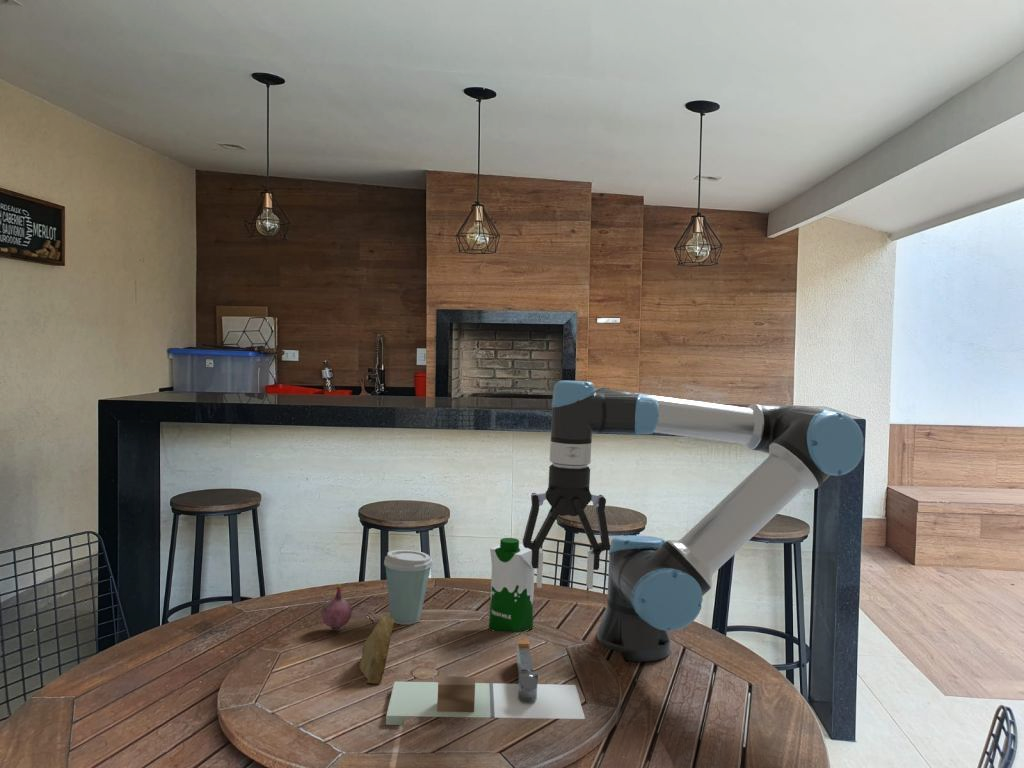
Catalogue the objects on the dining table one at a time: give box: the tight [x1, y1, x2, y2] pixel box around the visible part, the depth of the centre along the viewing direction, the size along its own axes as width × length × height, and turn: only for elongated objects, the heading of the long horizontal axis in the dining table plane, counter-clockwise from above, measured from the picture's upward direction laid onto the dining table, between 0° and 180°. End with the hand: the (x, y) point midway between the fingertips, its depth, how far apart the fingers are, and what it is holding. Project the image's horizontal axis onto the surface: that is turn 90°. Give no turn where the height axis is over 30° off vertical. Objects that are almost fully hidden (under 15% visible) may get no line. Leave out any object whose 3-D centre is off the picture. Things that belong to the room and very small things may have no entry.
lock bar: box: [516, 636, 539, 702], centre depth 132 cm, size 17×3×5 cm, turn 3°
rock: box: [358, 614, 394, 684], centre depth 137 cm, size 11×9×10 cm
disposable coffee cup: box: [383, 549, 433, 626], centre depth 163 cm, size 11×11×15 cm
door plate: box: [385, 681, 586, 726], centre depth 125 cm, size 32×12×2 cm, turn 93°
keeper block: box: [437, 675, 476, 712], centre depth 122 cm, size 6×3×4 cm, turn 93°
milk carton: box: [488, 537, 536, 633], centre depth 160 cm, size 9×9×20 cm
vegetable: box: [320, 582, 353, 631], centre depth 155 cm, size 6×6×10 cm
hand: (564, 585), depth 137 cm, fingers open, 9 cm apart
